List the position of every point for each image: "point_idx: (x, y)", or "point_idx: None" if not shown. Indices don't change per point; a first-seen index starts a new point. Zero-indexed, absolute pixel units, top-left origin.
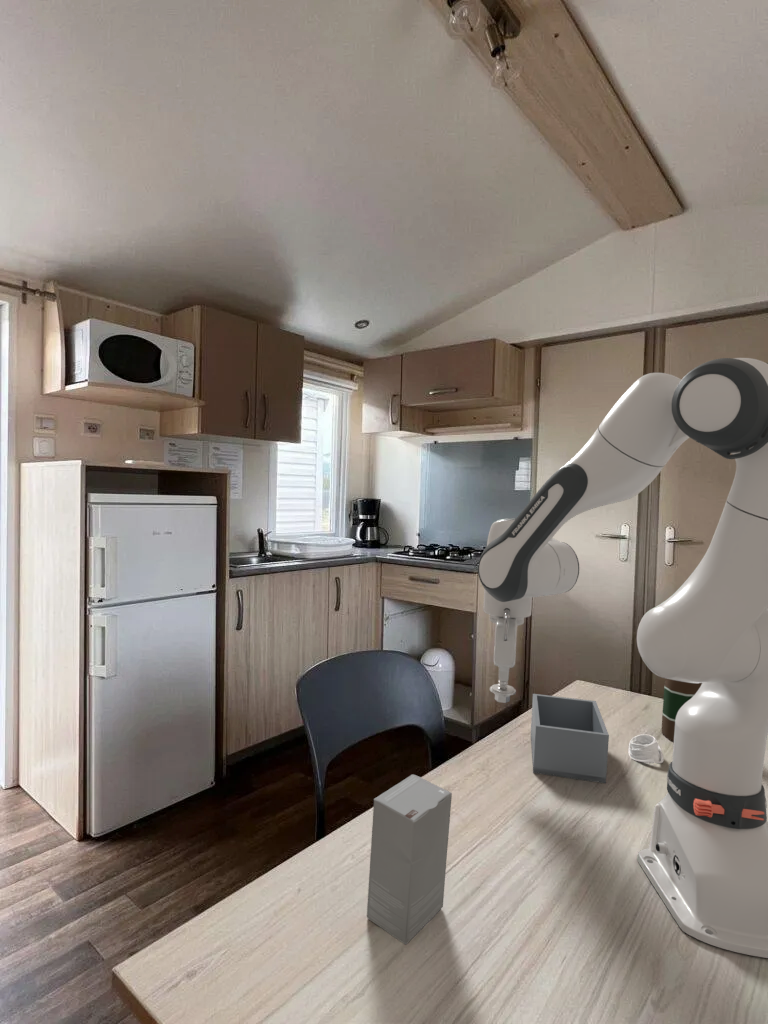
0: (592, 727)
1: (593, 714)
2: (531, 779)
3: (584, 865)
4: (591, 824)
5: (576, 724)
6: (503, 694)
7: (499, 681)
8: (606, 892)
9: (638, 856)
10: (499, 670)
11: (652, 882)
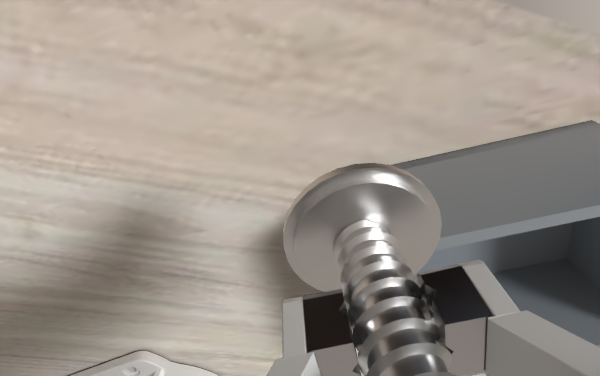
0: (564, 293)
1: (588, 323)
2: (311, 178)
3: (67, 301)
4: (199, 294)
5: (596, 253)
6: (288, 256)
7: (351, 260)
8: (28, 329)
9: (134, 358)
10: (273, 368)
11: (94, 368)
